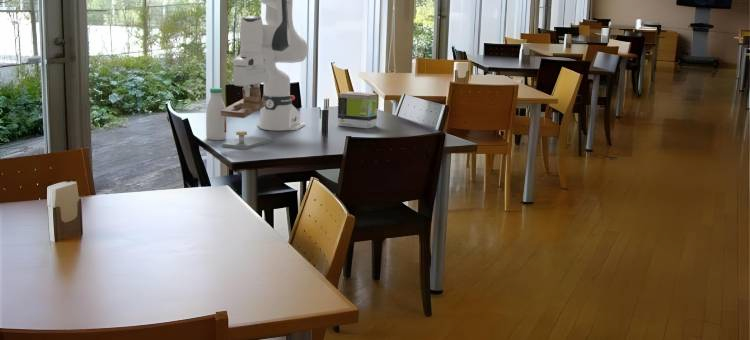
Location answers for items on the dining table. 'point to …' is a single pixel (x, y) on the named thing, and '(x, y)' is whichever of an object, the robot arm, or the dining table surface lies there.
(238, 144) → the boss board
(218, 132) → the milk bottle
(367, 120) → the tea box
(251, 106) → the wooden stepped block
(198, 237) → the dining table surface
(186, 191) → the dining table surface
